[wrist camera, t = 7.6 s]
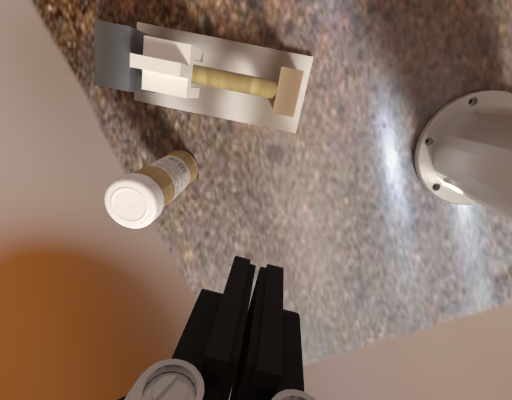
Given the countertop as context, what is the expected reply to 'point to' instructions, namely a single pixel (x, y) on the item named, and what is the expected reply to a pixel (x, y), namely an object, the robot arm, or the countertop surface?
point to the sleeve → (167, 66)
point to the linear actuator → (211, 75)
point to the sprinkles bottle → (149, 189)
